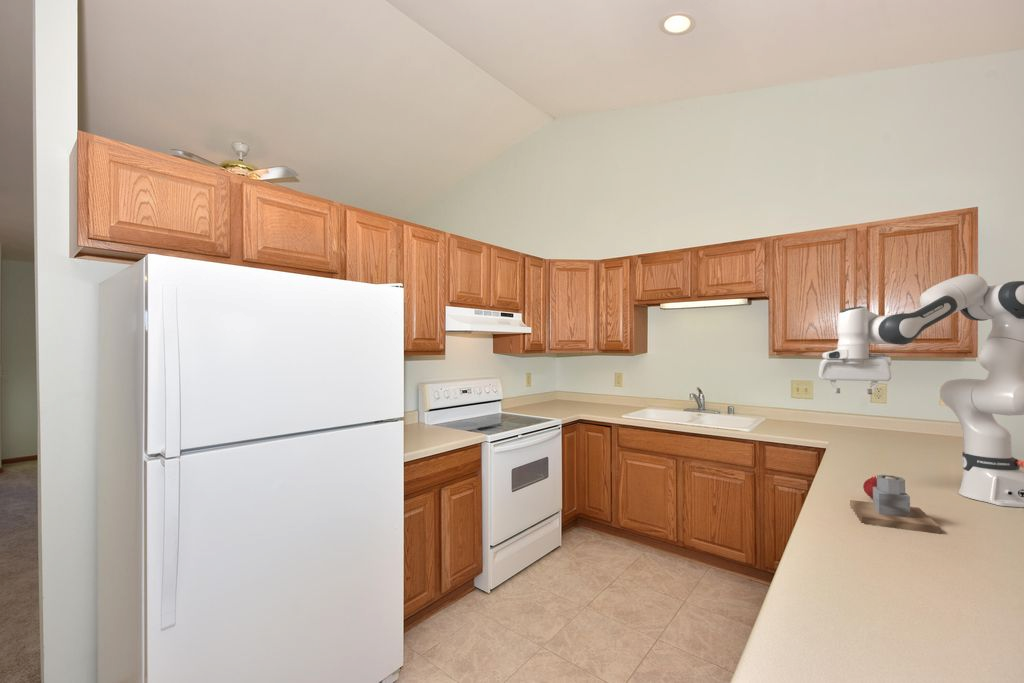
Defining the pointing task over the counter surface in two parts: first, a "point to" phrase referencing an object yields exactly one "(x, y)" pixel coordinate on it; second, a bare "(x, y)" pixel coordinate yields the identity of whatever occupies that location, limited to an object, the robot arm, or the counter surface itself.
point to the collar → (891, 485)
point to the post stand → (893, 512)
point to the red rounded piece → (870, 486)
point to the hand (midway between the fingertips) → (853, 393)
